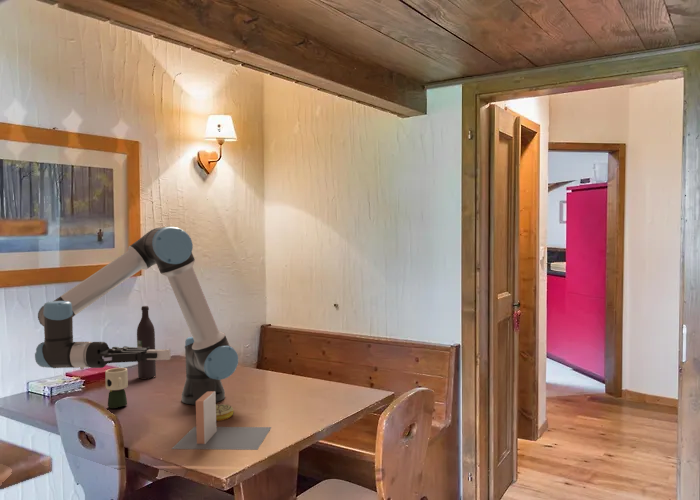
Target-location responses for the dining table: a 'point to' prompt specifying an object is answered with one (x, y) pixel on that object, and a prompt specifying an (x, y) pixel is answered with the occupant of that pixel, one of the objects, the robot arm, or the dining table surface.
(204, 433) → the terracotta tile
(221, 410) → the decorated donut
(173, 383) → the dining table surface
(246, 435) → the slate mat
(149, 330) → the wine bottle
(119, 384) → the character mug
